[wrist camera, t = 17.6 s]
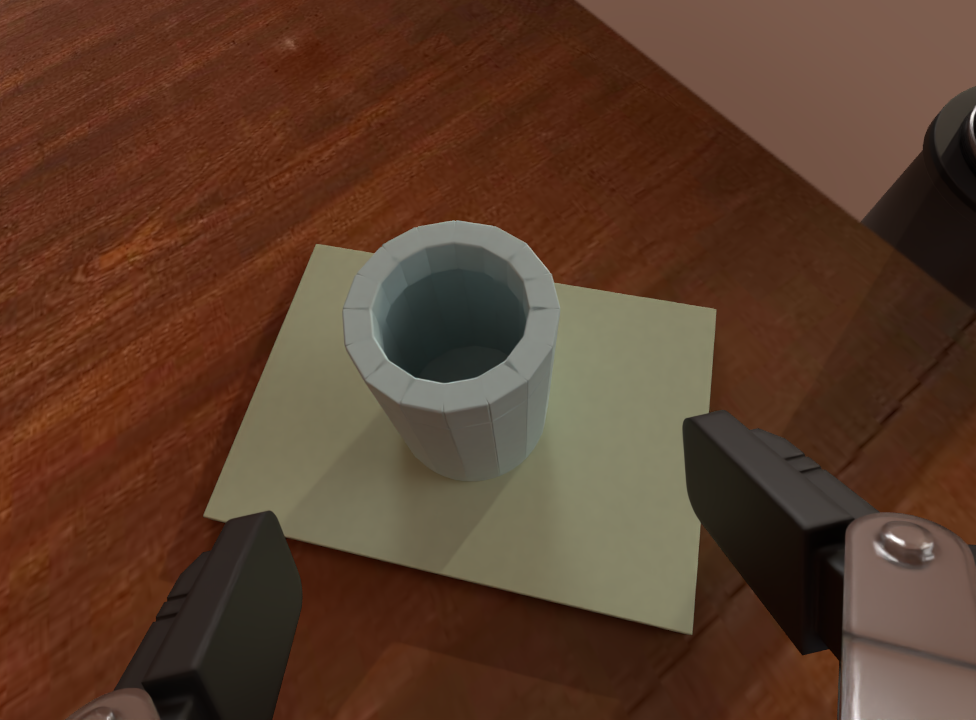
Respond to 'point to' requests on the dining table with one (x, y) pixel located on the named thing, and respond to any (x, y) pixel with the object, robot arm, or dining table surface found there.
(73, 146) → the dining table surface
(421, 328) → the cylindrical container
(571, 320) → the mat
